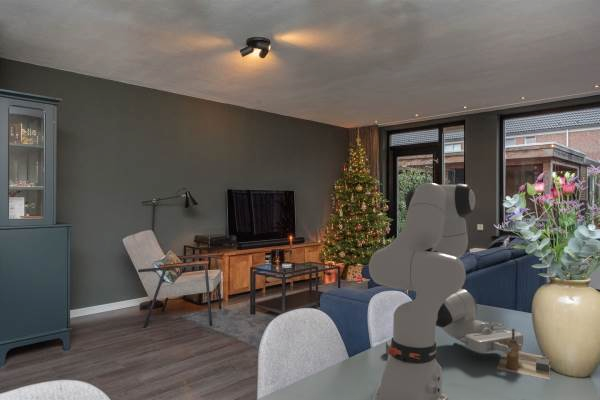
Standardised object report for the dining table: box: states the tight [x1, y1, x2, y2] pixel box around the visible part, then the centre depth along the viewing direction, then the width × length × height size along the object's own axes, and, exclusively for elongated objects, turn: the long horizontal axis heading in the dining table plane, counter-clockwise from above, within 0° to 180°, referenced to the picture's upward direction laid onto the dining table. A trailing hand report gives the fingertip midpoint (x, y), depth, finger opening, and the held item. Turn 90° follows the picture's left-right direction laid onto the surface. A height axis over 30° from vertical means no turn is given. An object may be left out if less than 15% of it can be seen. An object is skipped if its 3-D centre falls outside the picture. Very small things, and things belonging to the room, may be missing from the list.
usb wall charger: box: [385, 341, 391, 357], centre depth 143 cm, size 4×7×4 cm, turn 91°
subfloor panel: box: [496, 351, 551, 381], centre depth 135 cm, size 20×14×1 cm
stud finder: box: [536, 355, 550, 372], centre depth 132 cm, size 6×4×2 cm, turn 149°
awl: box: [507, 328, 520, 370], centre depth 131 cm, size 3×3×12 cm
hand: (515, 349), depth 130 cm, fingers closed on awl, 3 cm apart
